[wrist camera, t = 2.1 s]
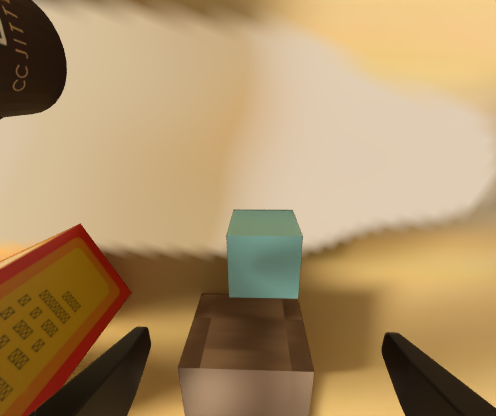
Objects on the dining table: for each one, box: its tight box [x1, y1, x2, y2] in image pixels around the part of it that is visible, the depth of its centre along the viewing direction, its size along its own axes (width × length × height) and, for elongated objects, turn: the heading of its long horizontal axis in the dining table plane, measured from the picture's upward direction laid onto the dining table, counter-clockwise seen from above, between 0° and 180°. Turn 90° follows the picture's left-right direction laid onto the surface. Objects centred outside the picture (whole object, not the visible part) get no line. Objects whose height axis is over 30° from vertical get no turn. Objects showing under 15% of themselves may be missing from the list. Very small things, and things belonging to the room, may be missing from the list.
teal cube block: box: [226, 210, 303, 299], centre depth 15 cm, size 4×4×4 cm
